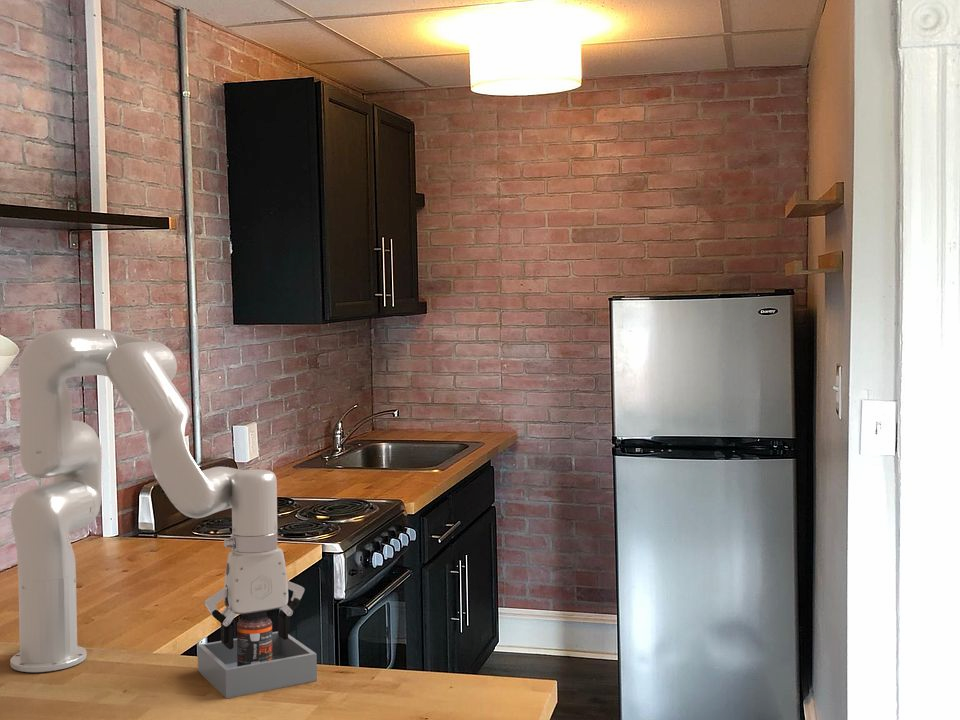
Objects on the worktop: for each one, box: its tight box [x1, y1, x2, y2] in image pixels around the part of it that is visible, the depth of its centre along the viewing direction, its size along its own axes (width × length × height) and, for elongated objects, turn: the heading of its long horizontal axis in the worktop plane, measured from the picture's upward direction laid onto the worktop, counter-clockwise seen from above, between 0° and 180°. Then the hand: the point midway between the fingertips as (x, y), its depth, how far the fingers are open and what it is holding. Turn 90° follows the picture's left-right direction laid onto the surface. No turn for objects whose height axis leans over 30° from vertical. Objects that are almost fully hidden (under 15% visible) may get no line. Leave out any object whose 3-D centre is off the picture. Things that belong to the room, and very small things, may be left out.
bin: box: [197, 631, 318, 699], centre depth 177 cm, size 16×16×5 cm
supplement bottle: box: [236, 611, 273, 667], centre depth 177 cm, size 6×6×11 cm
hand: (256, 642), depth 177 cm, fingers open, 9 cm apart
